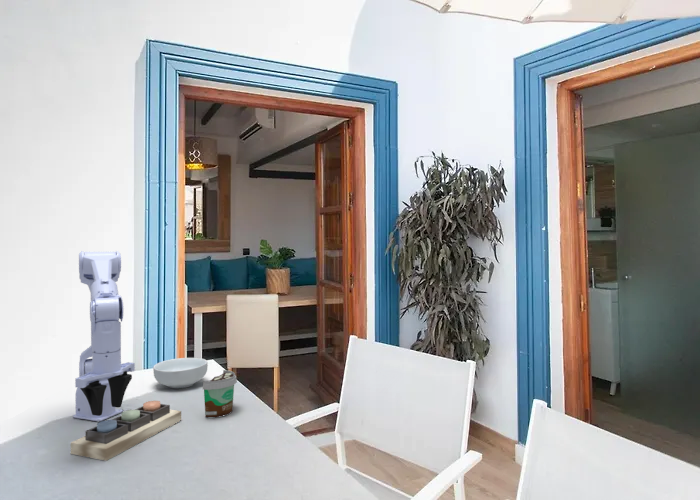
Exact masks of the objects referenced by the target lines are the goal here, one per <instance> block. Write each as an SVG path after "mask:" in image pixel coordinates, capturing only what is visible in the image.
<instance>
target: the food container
mask: <svg viewBox="0 0 700 500" xmlns="http://www.w3.org/2000/svg"><path fill="white" fill-rule="evenodd" d="M222 371H223V372H222V374H220V375H217V376H214V377H213V378H211V380H206V381H203V383H202V390H203V397H204V415H205V416H204V418H205V417H215V418H220V417H219V416H222V417H224V416H223V415H225V416H228V415H229V413H230V412H231V413H232V412H233V406H234V393H235V385H236V383H237V381H238V380H237V376H236V373H235V372H234V371H232V370H228V369H223V370H222ZM231 413H230V414H231ZM227 414H228V415H227Z"/></svg>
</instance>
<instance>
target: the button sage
mask: <svg viewBox="0 0 700 500" xmlns="http://www.w3.org/2000/svg"><path fill="white" fill-rule="evenodd" d="M121 415H122V421H128V422H132V421H134V420H136V419H139V418H140V411H139V410H135V409H127V410H124V411H123V412H121Z"/></svg>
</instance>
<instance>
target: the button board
mask: <svg viewBox="0 0 700 500" xmlns="http://www.w3.org/2000/svg"><path fill="white" fill-rule="evenodd" d="M134 410H139V411H140V418H139V419H136V420H134V421H132V422H128V421H122V414H121V415H120V416H117V417H115V418H112V419H111V420H116V421H117V429H115V430H113V431H111V432H109V433H101V432H97V425H96V426H93V427H92V428H89V429H87V430H85V431H84V432H85V433H84V434H85V436H83V437H80V438H78V439H75V440H73V441H71V442H70V455H76V456H80V457H84V456H85V458H89V457H90V458H91V459H95V460H100V461H104V462H106V461H108V460H110V459H113V458H114V457H116V456H118V455H120V454H121V453H123V452H125V451H127V450H129V449H131V448H133V447H134V446H137V445H138V443H139V444H141V443H142V442H144V441H146V440H148V439H150V438H151V436H152V437H153V435H154V436H155V435H157V434H159V433H161V432H163V431H165V430H167V429H169V428H170V427H173V426H174V425H176V424H178V423H180V422H181V421H182V410H175V409H174V410H173V409H171V406H170V404H163V403H160V409H158V410H156V411H154V412H150V411H143V405H141V406H140V407H138V408H135V409H134ZM180 420H181V421H180ZM179 421H180V422H179ZM177 422H178V423H177ZM175 423H176V424H175ZM169 426H170V427H169ZM168 427H169V428H168ZM166 428H167V429H166ZM164 429H165V430H164ZM162 430H163V431H162ZM160 431H161V432H160ZM158 432H159V433H158ZM149 437H150V438H149ZM147 438H148V439H147ZM145 439H146V440H145ZM136 444H137V445H136ZM90 458H89V459H90Z"/></svg>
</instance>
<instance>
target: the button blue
mask: <svg viewBox="0 0 700 500" xmlns="http://www.w3.org/2000/svg"><path fill="white" fill-rule="evenodd" d="M96 426H97V432H101V433H109V432H111V431H113V430H115V429H117V421H116V420H112V419H105V420H102V421H99V422H97V423H96Z"/></svg>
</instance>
